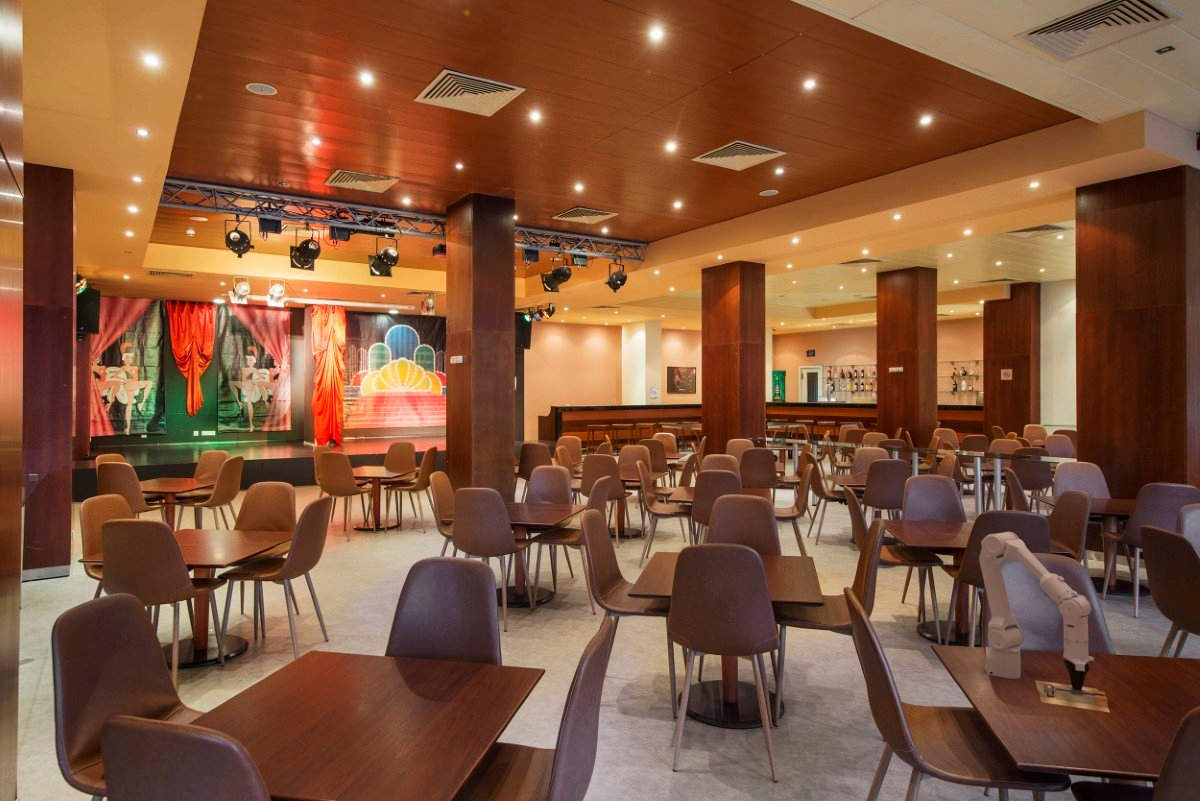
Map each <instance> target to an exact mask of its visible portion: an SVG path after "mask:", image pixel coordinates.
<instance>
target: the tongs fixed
mask: <svg viewBox="0 0 1200 801" xmlns="http://www.w3.org/2000/svg"><path fill="white" fill-rule="evenodd" d="M1038 690H1039V692H1038V694H1039V698H1040V697H1044V698H1047V697H1054V686H1053V685H1050V684H1044V688H1038V689H1037V691H1038ZM1056 699H1059V700H1066V701H1072V702H1079V703H1086V704H1093V705H1096V706H1101V707H1108V705H1109V704H1108V701H1109V700H1108V697H1107V696H1106V695H1105V696H1100V695H1088V694H1081V693H1074V692H1067V691H1060V690H1056ZM1108 708H1109V707H1108Z"/></svg>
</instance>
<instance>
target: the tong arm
mask: <svg viewBox="0 0 1200 801" xmlns="http://www.w3.org/2000/svg"><path fill="white" fill-rule="evenodd" d="M1056 690H1060V691H1067V692H1074V693H1081V694H1088V695H1100V696H1106V692H1105V691H1102V690H1099V691H1096V690H1093V691H1086V690H1079V689H1072V688H1065V687H1057V686H1055V695H1056Z"/></svg>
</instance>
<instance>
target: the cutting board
mask: <svg viewBox="0 0 1200 801" xmlns="http://www.w3.org/2000/svg"><path fill="white" fill-rule="evenodd" d="M1044 684H1050V685H1053V686H1054V697H1047V698H1044V697H1040V696H1039V698H1040V702H1041V703H1045V704H1050V705H1051V704H1052V705H1059V706H1065V707H1070V708H1071V707H1073V708H1077V709H1084V710H1092V711H1097V712H1105V713H1111V711H1110V709H1109V707H1101V706H1096V705H1093V704H1086V703H1079V702H1072V701H1066V700H1059V699H1056V695H1055V686H1057V687H1065V688H1072V685H1071V684H1066V683H1058V682H1050V681H1043V680H1037V679H1035V685H1036V689H1037V692H1038V693H1039V690H1038V688H1044ZM1072 689H1073V688H1072ZM1082 690H1086V691H1093V690H1096V691H1100V690H1099V689H1098V688H1094V687H1086V686H1083V687H1082Z"/></svg>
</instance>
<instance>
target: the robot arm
mask: <svg viewBox="0 0 1200 801" xmlns="http://www.w3.org/2000/svg"><path fill="white" fill-rule="evenodd" d="M980 545H981V550H980V554H979V557H978V558H979V559H978V560H979V565H980V569H981V573H982V574H981V575H982V578H983V582H984V587H985V591H986V596H987V602H988V605H989V609H990V613H991V619H990V620H989V622H988V625H987V626H988V633H987V639H988V640H987V641H988V643H989V645H990V646H985V665H984V671H985V672H986V676H987V675H988V676H993V677H999V678H1005V679H1010V680H1011V679H1012V680H1013V679H1014V680H1015V679H1017V680H1018V679H1020V678H1021V677H1022V676H1021V675H1022V674H1021V670H1022V669H1021V668H1022V666H1021V645H1022V644H1024V642H1025V638H1026V637H1025V634H1024V631H1023V630H1022V629H1021V627H1020V625H1019V621H1018V620H1017V619H1016V618H1015V617H1014V616H1013V615H1012V610H1011V606H1010V601H1009V596H1008V593H1007V587H1006V584H1005V579H1004V575H1003V571H1002V566H1001V563H1002V562H1003V561H1004V560H1005V558H1008V559H1013V560H1017V561H1018V562H1019V563H1020V564H1021V565H1022V566H1024V567H1025V569H1027V570H1028V571H1029V572H1030V573H1031V574H1032V575H1034V577H1036V578H1037V579H1038V580H1039V587H1040V588H1041V589H1042V590H1043V591H1044V592H1045V593H1046V594H1047V595H1048V597H1050V598H1051V599H1052V600H1053V601H1054V602H1055V603H1056V605H1058V606H1057V608H1058V610H1059V613H1060V614H1061V616H1062V618H1063V619H1062V620H1063V622H1062V623H1063V653H1062V654H1063V655H1062V656H1063V658H1064V660H1063V662H1064V665H1065V667H1066V668H1067V672H1068V675H1069V681H1070V685H1072V688H1073V689H1079V690H1082V687H1084V682H1085V678H1086V676H1087V674H1088V672H1089V671H1090V665H1089V664H1088V663H1089V662H1094V661H1095V657H1093V656H1090V655H1089V620H1088V619H1089V618H1088V617H1089V615H1090V614H1091V612H1092V608H1093V607H1092V604H1091V602H1090V601H1089V600H1088V598H1087V597H1086V596H1084V595H1082V594H1078V592H1077V591H1076V590H1073V589H1072V588H1071V587H1070V586H1069V584H1067V583H1066V582H1065V578H1064V577H1063V576H1061V575H1058V574H1056V573H1051V572H1050V571H1048V569H1046V567H1045V566H1044V565H1043V564H1042V563H1041V562H1040V561H1039V559H1037V558H1036V556H1035V555H1034V554H1033V553H1032V552H1031V551H1030V550H1029V548H1027V546H1026V544H1025V542H1024V541H1023V540H1022V539H1020V538H1019V537H1018V535H1017V534H1015V532H1012V531H1004V532H999V533H998V532H997V533H990V534H987V535H985V537H984V538H983V539H982V540H981V542H980Z"/></svg>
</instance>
